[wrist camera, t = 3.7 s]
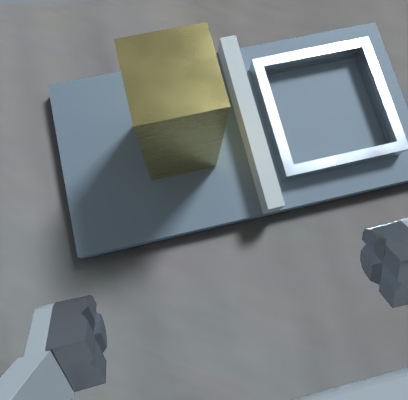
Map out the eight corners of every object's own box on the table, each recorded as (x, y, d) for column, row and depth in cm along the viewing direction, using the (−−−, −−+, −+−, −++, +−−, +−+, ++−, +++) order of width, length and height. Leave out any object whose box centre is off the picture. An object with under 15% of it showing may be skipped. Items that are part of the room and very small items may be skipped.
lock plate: (82, 259, 23) (69, 255, 20) (53, 93, 25) (38, 72, 23) (423, 178, 25) (448, 166, 22) (368, 31, 27) (386, 6, 25)
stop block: (151, 180, 23) (132, 126, 15) (137, 119, 24) (114, 39, 16) (216, 166, 23) (230, 106, 16) (200, 107, 24) (207, 22, 16)
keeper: (281, 182, 23) (286, 176, 22) (248, 69, 25) (252, 59, 24) (399, 155, 24) (410, 148, 23) (359, 47, 26) (368, 36, 25)
